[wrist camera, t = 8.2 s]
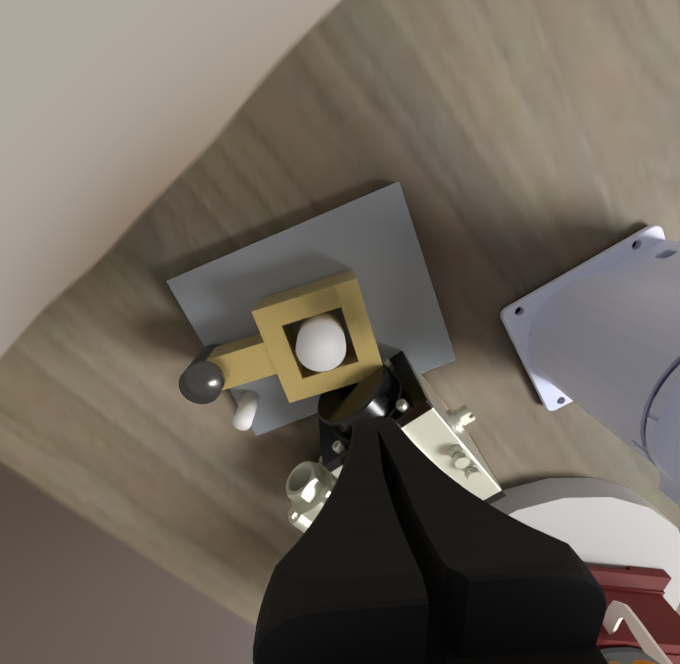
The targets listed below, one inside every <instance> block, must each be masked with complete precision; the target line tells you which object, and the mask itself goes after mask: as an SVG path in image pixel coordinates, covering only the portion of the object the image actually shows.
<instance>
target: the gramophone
mask: <svg viewBox="0 0 680 664" xmlns="http://www.w3.org/2000/svg"><path fill="white" fill-rule="evenodd" d="M503 491H504V492H505V494H506V496H505V497H503V498H501V499H499V500H497V501H496V502H494V503H492V504H491V506H493V507H495V508H496V509H498V510H500V511H502V512H503V513H505V514H507V515H509V516H511V517H513V518H515V519H516V520H518V521H520V522H522V523H524V524H526V525H528V526H530V527H532V528H534V529H537V530H539V531H541V532H543V533H546V534H548V535H550V536H552V537H555V538H557V539H559V540H561V541H564V542H566V543H568V544H569V545H570V546H571V547H572V549H573V550H574V551H575V552H576V553H577V555H578V556H579V557H580V558H581V559H582V561H583V562H584V563H585V565H586V566H587V567H588V569H589V570H590V571H591V573H592V574H593V576H594V577H595V578H596V580H597V581H598V583H599V584H600V585H601V587H602V588H603V590H604V592H605V596H606V599H607V605H606V613H605V617H604V620H603V623H602V626H601V630H600V633H599V636H598V639H597V643H596V645H597V647H598V648H599V650H600V651H601V653H602V655H603V656H604V658H605V659H606V661H607V663H608V664H680V616H679V615H678V613H677V612H676V609H677V607H678V605H679V603H680V533H679V531H678V529H677V527H676V526H674V525H673V524H672V523H671V522H670V521H669V520H668V519H667V518H666V517H665V516H664V515H663V514H661V513H660V512H659V511H658V510H657V509H656V508H655V507H654V506H652V505H651V504H650V503H648V502H647V501H646V500H644V499H643V498H642V497H640V496H639V495H638V494H636V493H635V492H634V491H632V490H631V489H630V488H628V487H624V486H621V485H617V484H614V483H610V482H607V481H603V480H600V479H596V478H593V477H585V478H547V479H543V480H539V481H535V482H532V483H528V484H524V485H520V486H516V487H513V488H509V489H505V490H503Z"/></svg>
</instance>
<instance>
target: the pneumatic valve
mask: <svg viewBox="0 0 680 664" xmlns="http://www.w3.org/2000/svg"><path fill="white" fill-rule="evenodd" d="M381 361H382V364H383V366H382V367H380V368H379V369H377V370H376V371H374V372H373V373H372V374H370V375H369V376H367V377H366V378H365V379H363V380H362V381H360V382H358V383H355V384H351V385H348V386H345V387H341V388H338V389H335V390H331V391H328V392H324V393H321V395H320V398H319V401H318V414H319V425H320V439H321V453H322V455H321V456H320V458H319V463H315V462H312V461H304V462H302V463H300V464H299V465H297V466H296V467H295V468H294V469H293V470H292V472H291V473H290V475H289V477H288V479H287V482H286V493H287V497H289V498H290V499H291V506H292V507H291V508H290V510H289V511H288V517H289V518H288V520H289V522H290V523H291V524H292V525H294V526H295V527H296V528H298V529H299V530H301V531H302V532H303V533H305V531H306V530H307V529H308V527H309V526H310V525H311V523H312V522H313V521H314V519H315V518H316V516H317V515H318V513H319V512H320V510H321V509H322V507H323V505H324V504H325V502H326V500H327V499H328V497H329V495H330V493H331V491H332V489H333V487H334V485H335V483H336V481H337V479H338V477H339V474H340V472H341V469H342V467H343V464H344V462H345V459H346V456H347V453H348V449H349V446H350V442H351V437H352V422H353V421H354V420H355V419H367V418H385V417H391V418H392V419H393V420H394V421H395V422H396V423H397V424H398V426H399V427H400V428H401V429H402V430H403V432H404V433H405V434H406V435H407V436H408V437H409V438H410V439H411V441H412V442H413V443H414V444H415V445H416V446H417V447H418V448H419V449H420V450H421V451H422V452H423V453H424V454H425V455H426V456H427V457H428V458H429V459H430V460H431V461H432V462H433V463H434V464H435V465H437V466H438V467H439V468H440V469H441V470H442V471H443V472H444V473H446V474H447V475H448V476H449V477H451V478H452V479H453V480H455V481H456V482H457V483H459V484H460V485H461V486H463V487H464V488H465V489H467V490H468V491H470V492H471V493H472V494H474V495H475V496H477V497H479V498H480V499H482V500H483V501H485V502H487V503H488V504H490V505H491V504H492V503H494V502H496V501H497V500H499V499H501V498H503V497H505V496H506V494H505V492H504V491H503V489H502V487H501V486H500V484H499V482H498V481H497V479H496V477H495V476H494V474H493V472H492V471H491V469H490V467H489V466H488V464H487V462H486V461H485V459H484V457H483V456H482V454H481V452H480V451H479V449H478V447H477V446H476V444H475V442H474V441H473V439H472V437H471V436H470V435H469V434H468V432H467V431H466V430H465V429H464V427H463V426H465V425H467V424H468V423H470V422H471V421H473V420H475V417H474V415H473V414H472V412H471V411H470V410H469V409H468V407H467V406H466V405H463V406H462V407H460V408H458V409H457V410H455V411H454V412H453V411H452V410H451V409H448V407H447V406H446V405H445V404H444V402H443V401H442V400H441V399H440V397H439V396H438V395H437V394H436V392H435V391H434V390H433V389H432V387H431V386H430V385H429V384H428V382H427V381H426V380H425V378H424V377H423V376H422V375H421V374H420V373H419V371H418V370H417V369H416V367H415V366H414V365H413V363H412V362H411V361H410V360H409V358H408V357H407V356H406V355H405V353H404V352H403V351H400V352H399V353H397V354H396V355H394V356H393V357H391V358H390V359H388V358H384V359H382V360H381Z"/></svg>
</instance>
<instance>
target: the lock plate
mask: <svg viewBox="0 0 680 664" xmlns="http://www.w3.org/2000/svg"><path fill="white" fill-rule="evenodd" d="M351 269H353V271H354V273H355V275H356V278H357V281H358V284H359V287H360V291H361V294H362V297H363V301H364V304H365V307H366V311H367V314H368V317H369V321H370V324H371V327H372V331H373V334H374V337H375V341H376V344H377V347H378V351H379V354H380V357H381V360H382V359H384V358H388V359H390V358H391V357H393V356H394V355H396V354H397V353H399V352H400V351H403V352H404V353H405V355H406V356H407V357H408V358H409V360H410V361H411V362H412V363H413V365H414V366H415V367H416V369H417V370H418V371H419V373H420V374H422V373H425V372H427V371H430V370H433V369H435V368H438V367H441V366H443V365H446V364H449V363H451V362H454V361H457V360H456V357H455V354H454V351H453V348H452V344H451V341H450V338H449V335H448V332H447V329H446V326H445V323H444V319H443V316H442V313H441V310H440V307H439V304H438V301H437V298H436V295H435V291H434V288H433V285H432V282H431V279H430V276H429V273H428V270H427V266H426V263H425V260H424V257H423V254H422V251H421V248H420V245H419V241H418V238H417V235H416V232H415V229H414V226H413V223H412V220H411V216H410V213H409V210H408V207H407V204H406V201H405V198H404V195H403V191H402V188H401V185H400V182H395V183H393V184H390V185H388V186H386V187H383V188H381V189H379V190H376V191H374V192H372V193H369V194H367V195H365V196H362V197H360V198H358V199H355V200H353V201H351V202H348V203H346V204H344V205H341V206H339V207H337V208H334V209H332V210H330V211H327V212H325V213H323V214H320V215H318V216H316V217H313V218H311V219H309V220H306V221H304V222H302V223H299V224H297V225H295V226H292V227H290V228H288V229H285V230H283V231H281V232H278V233H276V234H274V235H271V236H269V237H267V238H264V239H262V240H260V241H257V242H255V243H253V244H250V245H248V246H246V247H243V248H241V249H239V250H236V251H234V252H232V253H229V254H227V255H225V256H222V257H220V258H218V259H215V260H213V261H211V262H208V263H206V264H204V265H201V266H199V267H197V268H194V269H192V270H190V271H187V272H185V273H183V274H180V275H178V276H176V277H173V278H171V279H169V280H167V281H166V282H167V284H168V285H169V287H170V289H171V290H172V292H173V294H174V296H175V297H176V299H177V301H178V302H179V304H180V306H181V308H182V309H183V311H184V313H185V314H186V316H187V318H188V320H189V321H190V323H191V325H192V327H193V328H194V330H195V332H196V333H197V335H198V337H199V339H200V340H201V342H202V344H203V345H204V347H206V346H208V345H212V344H218V345H224V344H227V343H230V342H233V341H236V340H240V339H243V338H246V337H249V336H252V335H255V334H259V333H260V331H259V329H258V326H257V324H256V322H255V319H254V317H253V314H252V310H253V308H254V307H255V305H256V304H257V302H258V301H259V299H261V298H264V297H267V296H270V295H273V294H276V293H280V292H283V291H286V290H289V289H292V288H295V287H298V286H301V285H305V284H308V283H311V282H314V281H317V280H320V279H323V278H326V277H330V276H333V275H336V274H339V273H342V272H345V271H348V270H351ZM291 325H292V328H293V330H294V333H295V336H296V338H297V342H296V354H297V357H298V359H299V361H300V362H301V363H302V364H303V365H304V366H305V367H307V368H308V369H311V370H313V371H318V372H323V371H329V370H331V369H334V368H335V367H337V366H338V365H339V364H340V363H341V362H342V360H343V359H344V357H345V354H346V347H347V346H351V345H353V342H352V339H351V336H350V333H349V330H348V327H347V324H346V320H345V317H344V314H343V311H342V308H341V307H340V308H337V309H333V310H330V311H327V312H324V313H321V314H317V315H314V316H311V317H308V318H305V319H302V320H298V321H295V322H292V323H291ZM229 390H230V392H231V394H232V395H233V397H234V399H235V400H236V402H237V404H238V409H237V411H236V413H235V416H234V418H233V425H234V427H235V428H237V429H239V430H247V429H249V428H250V427H251V428H252V430H253V431H254V433H255V435H256V436H258V435H260V434H263V433H265V432H268V431H271V430H273V429H276V428H279V427H281V426H284V425H287V424H289V423H292V422H295V421H297V420H300V419H303V418H305V417H308V416H311V415H313V414H316V413H318V401H319V398H320V395H321V394H318V395H314V396H311V397H308V398H304V399H301V400H298V401H294V402H291V403H289V401H288V399H287V396H286V394H285V391H284V389H283V387H282V384H281V382H280V379H279V377H278V375H277V374H274V375H271V376H268V377H264V378H261V379H258V380H255V381H251V382H248V383H245V384H242V385H238V386H235V387H232V388H229Z"/></svg>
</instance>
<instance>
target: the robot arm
mask: <svg viewBox="0 0 680 664" xmlns="http://www.w3.org/2000/svg"><path fill="white" fill-rule="evenodd" d="M635 241H636V245H635V247H633V248H632V244H633V242H635ZM518 307H520V312H519V313H517V314H515V310H516V309H517V308H518ZM500 317H501V320H502V322H503V324H504V326H505V328H506V330H507V332H508V334H509V336H510V338H511V340H512V342H513V344H514V346H515V348H516V350H517V353H518V355H519V357H520V359H521V361H522V363H523V365H524V367H525V369H526V371H527V373H528V375H529V377H530V379H531V381H532V383H533V385H534V387H535V389H536V391H537V393H538V395H539V397H540V399H541V401H542V403H543V405H544V407H545V408H546V409H548V410H550V411H554V410H556V409H558V408H560V407H562V406H564V405H566V404H568V403H570V402H572V401H574V402H575V403H576V404H578V405H579V406H580V407H581V408H583V409H584V410H585V411H586V412H588V413H589V414H590V415H591V416H593V417H594V418H595V419H596V420H598V421H599V422H600V423H601V424H603V425H604V426H605V427H606V428H608V429H609V430H610V431H611V432H613V433H614V434H615V435H616V436H618V437H619V438H620V439H621V440H623V441H624V442H625V443H626V444H628V445H629V446H630V447H631V448H633V449H634V450H635V451H636V452H638V453H639V454H640V455H641V456H643V457H644V458H645V459H646V460H648V461H649V462H650V463H651V464H653V465H654V466H655V467H656V468H657V469H658V470H659V472H660V479H661V480H660V485H659V489H660V490H661V491H662V492H663V493H664V494H665V495H667V496H668V497H669V498H670V499H671V500H672V501H674V502H675V503H676V504H677V505H678V506H679V507H680V241H672V240H665V236H664V233H663V230H662V228H661V227H660V226H656V225H650V226H647V227H645V228H643V229H642V230H640V231H638V232H636V233H635V234H633V235H631V236H629V237H628V238H626V239H624V240H622V241H621V242H619V243H617V244H615V245H614V246H612V247H610V248H608V249H606V250H605V251H603V252H601V253H599V254H598V255H596V256H594V257H592V258H591V259H589V260H587V261H585V262H584V263H582V264H580V265H578V266H577V267H575V268H573V269H571V270H570V271H568V272H566V273H564V274H563V275H561V276H559V277H557V278H556V279H554V280H552V281H550V282H549V283H547V284H545V285H543V286H542V287H540V288H538V289H536V290H535V291H533V292H531V293H529V294H528V295H526V296H524V297H522V298H521V299H519V300H517V301H515V302H514V303H512V304H510V305H508V306H507V307H505V308H504V309H503V310H502V311H501V314H500ZM560 397H561V399H560V400H559V401H557V400H558V398H560ZM606 605H607V599H606V596H605V592H604V590H603V588H602V587H601V585H600V584H599V583H598V581H597V580H596V578H595V577H594V576H593V574H592V573H591V571H590V570H589V569H588V567H587V566H586V565H585V563H584V562H583V561H582V559H581V558H580V557H579V556H578V555H577V553H576V552H575V551H574V550H573V549H572V547H571V546H570V545H569V544H568V543H566V542H564V541H561V540H559V539H557V538H555V537H552V536H550V535H548V534H546V533H543V532H541V531H539V530H537V529H534V528H532V527H530V526H528V525H526V524H524V523H522V522H520V521H518V520H516V519H515V518H513V517H511V516H509V515H507V514H505V513H503V512H502V511H500V510H498V509H496V508H495V507H493V506H491V505H490V504H488V503H487V502H485V501H483V500H482V499H480V498H479V497H477V496H475V495H474V494H472V493H471V492H470V491H468V490H467V489H465V488H464V487H463V486H461V485H460V484H459V483H457V482H456V481H455V480H453V479H452V478H451V477H449V476H448V475H447V474H446V473H444V472H443V471H442V470H441V469H440V468H439V467H438V466H437V465H435V464H434V463H433V462H432V461H431V460H430V459H429V458H428V457H427V456H426V455H425V454H424V453H423V452H422V451H421V450H420V449H419V448H418V447H417V446H416V445H415V444H414V443H413V442H412V441H411V439H410V438H409V437H408V436H407V435H406V434H405V433H404V432H403V430H402V429H401V428H400V427H399V426H398V424H397V423H396V422H395V421H394V420H393V419H392V418H391V417H385V418H367V419H355V420H354V421H353V422H352V437H351V442H350V446H349V449H348V453H347V456H346V459H345V462H344V464H343V467H342V469H341V472H340V474H339V477H338V479H337V481H336V483H335V485H334V487H333V489H332V491H331V493H330V495H329V497H328V499H327V500H326V502H325V504H324V505H323V507H322V509H321V510H320V512H319V513H318V515H317V516H316V518H315V519H314V521H313V522H312V523H311V525H310V526H309V527H308V529H307V530H306V531H305V533H304V534H303V535H302V537H301V538H300V539H299V541H298V542H297V543H296V544H295V545H294V546H293V548H292V549H291V550H290V551H289V552H288V553H287V554H286V555H285V556H284V557H283V559H282V560H281V561H280V562H279V563H278V564H277V565H276V566H275V569H274V571H273V574H272V576H271V579H270V581H269V584H268V586H267V589H266V592H265V595H264V598H263V601H262V604H261V608H260V612H259V616H258V620H257V625H256V632H255V639H254V645H253V663H254V664H608V663H607V661H606V659H605V658H604V656H603V655H602V653H601V651H600V650H599V648H598V647H597V645H596V643H597V639H598V636H599V633H600V630H601V626H602V623H603V620H604V617H605V613H606Z"/></svg>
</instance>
